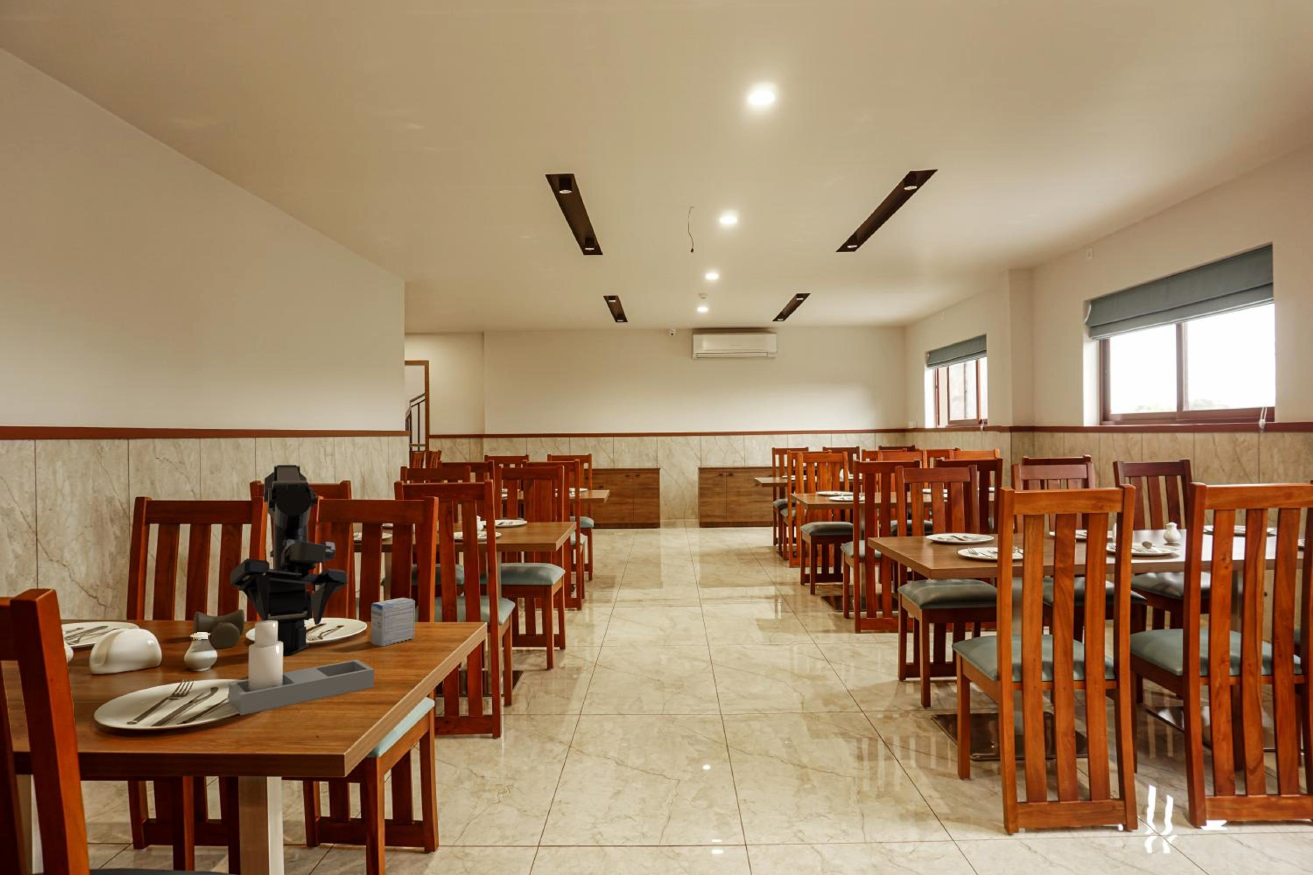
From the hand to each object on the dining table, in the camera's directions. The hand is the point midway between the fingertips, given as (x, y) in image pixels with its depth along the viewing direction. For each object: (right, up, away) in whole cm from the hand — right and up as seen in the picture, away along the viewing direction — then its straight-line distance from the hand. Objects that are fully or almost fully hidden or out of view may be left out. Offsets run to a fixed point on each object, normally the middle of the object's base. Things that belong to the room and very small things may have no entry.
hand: (292, 622), depth 127 cm
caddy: (+6, -10, -8) cm, 14 cm away
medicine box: (+7, -12, +29) cm, 32 cm away
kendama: (-31, -12, +31) cm, 46 cm away
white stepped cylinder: (+1, -10, -11) cm, 15 cm away
